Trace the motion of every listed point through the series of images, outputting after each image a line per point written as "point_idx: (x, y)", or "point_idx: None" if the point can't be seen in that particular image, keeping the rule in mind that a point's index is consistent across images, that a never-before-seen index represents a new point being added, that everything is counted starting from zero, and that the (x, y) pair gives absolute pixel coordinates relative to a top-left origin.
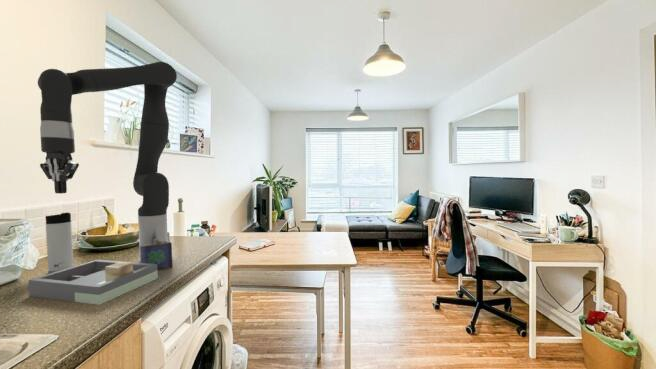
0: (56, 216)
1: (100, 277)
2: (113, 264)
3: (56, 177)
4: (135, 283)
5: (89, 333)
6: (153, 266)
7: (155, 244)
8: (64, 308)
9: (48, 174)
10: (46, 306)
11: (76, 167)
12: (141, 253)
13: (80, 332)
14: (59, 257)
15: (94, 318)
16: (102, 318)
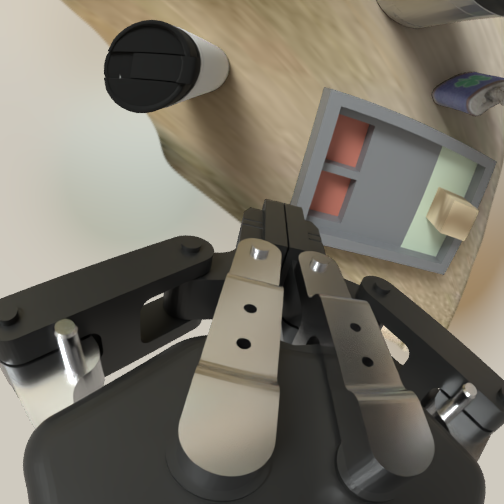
0: (173, 100)
1: (400, 185)
2: (449, 218)
3: (281, 335)
4: None
5: (447, 316)
6: (492, 170)
7: (497, 102)
8: (388, 266)
9: (168, 335)
10: (355, 259)
11: (487, 383)
12: (461, 110)
13: (439, 315)
14: (212, 88)
15: (441, 291)
16: (449, 291)
